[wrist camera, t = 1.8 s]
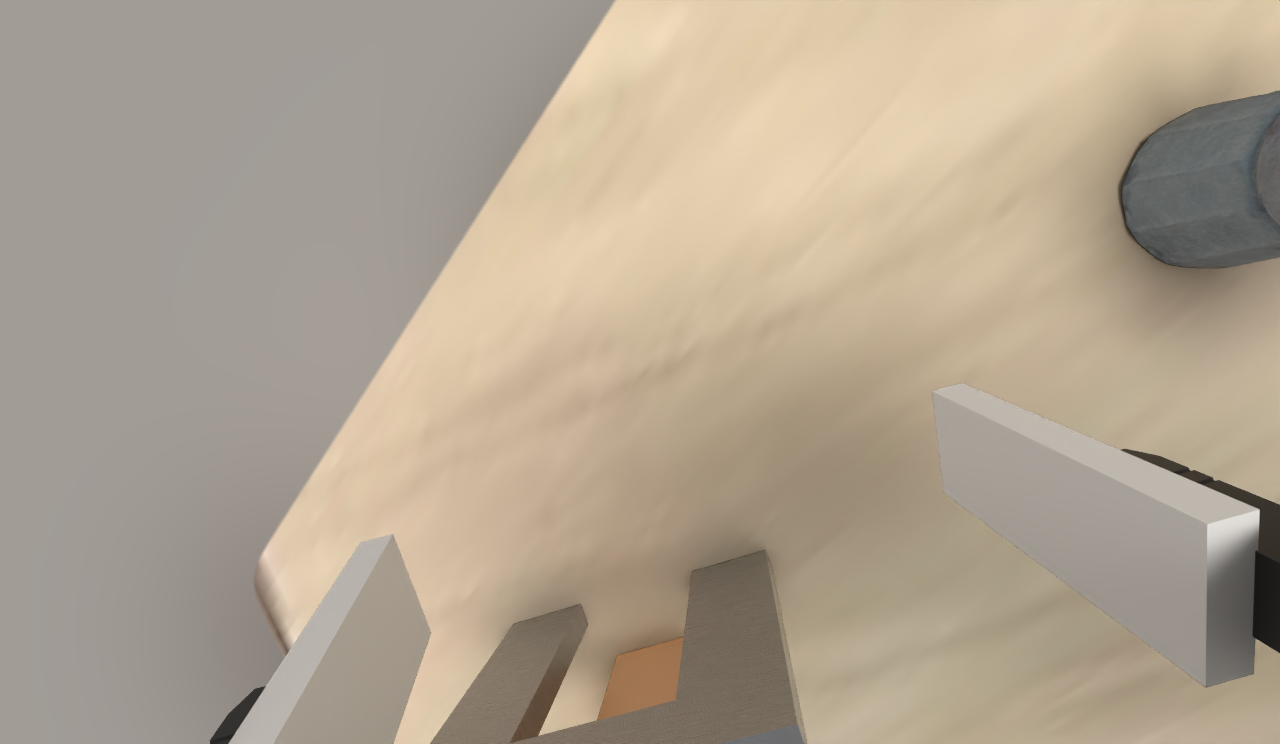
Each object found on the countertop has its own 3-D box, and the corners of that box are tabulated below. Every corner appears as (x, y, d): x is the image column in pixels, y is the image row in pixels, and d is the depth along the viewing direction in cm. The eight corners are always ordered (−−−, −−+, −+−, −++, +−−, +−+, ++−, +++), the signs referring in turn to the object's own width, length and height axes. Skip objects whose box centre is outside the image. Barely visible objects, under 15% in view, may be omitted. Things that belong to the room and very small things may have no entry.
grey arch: (773, 571, 40) (811, 762, 22) (521, 644, 42) (382, 863, 25) (765, 549, 40) (797, 724, 22) (514, 623, 42) (369, 830, 25)
